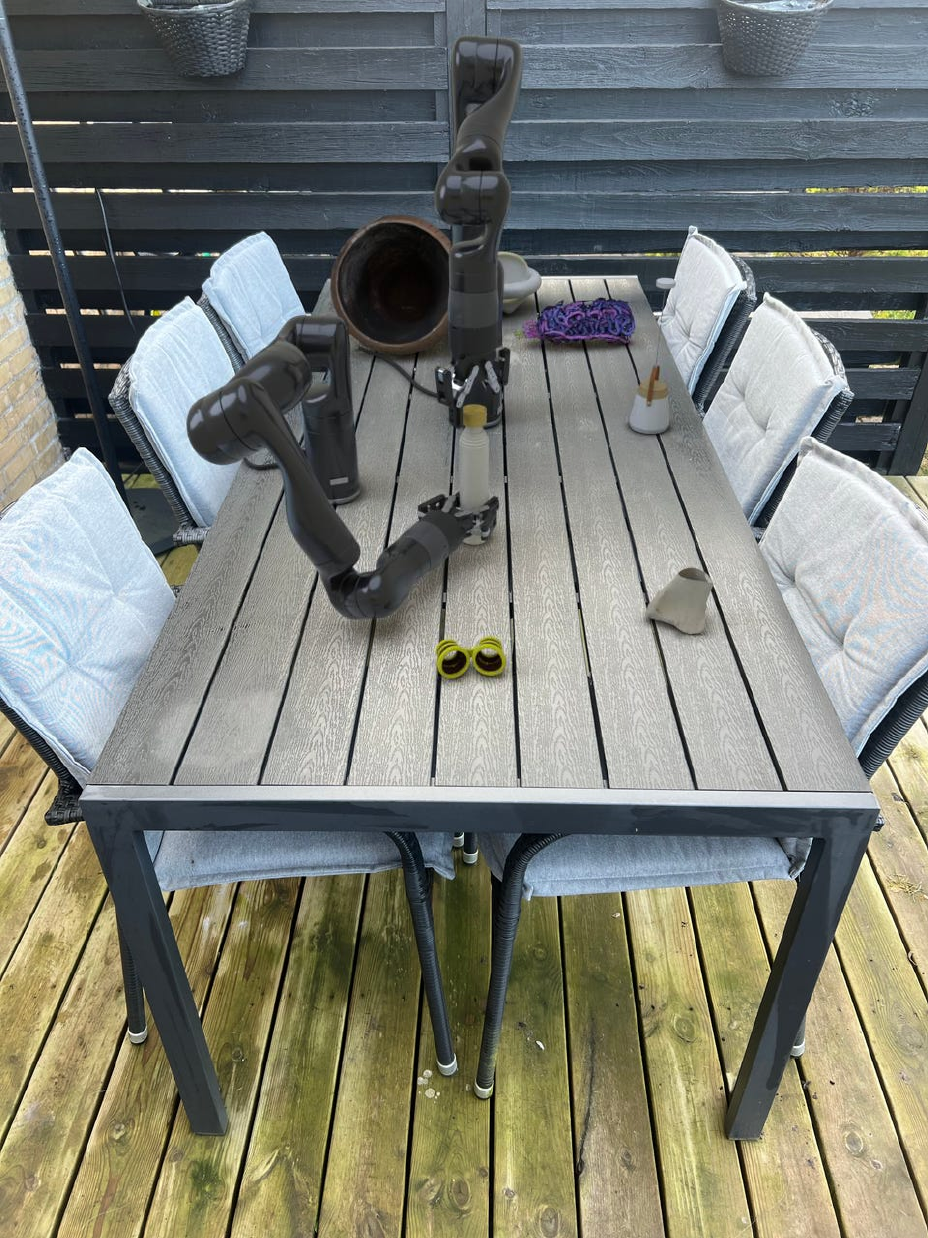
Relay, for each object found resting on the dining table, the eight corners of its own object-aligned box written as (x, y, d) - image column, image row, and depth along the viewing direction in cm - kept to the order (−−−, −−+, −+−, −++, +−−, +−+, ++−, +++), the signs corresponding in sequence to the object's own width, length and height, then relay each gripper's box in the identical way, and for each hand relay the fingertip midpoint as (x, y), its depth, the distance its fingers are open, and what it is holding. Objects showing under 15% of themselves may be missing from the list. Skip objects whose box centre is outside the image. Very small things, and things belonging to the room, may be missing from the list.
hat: (455, 295, 261) (454, 240, 252) (532, 292, 263) (534, 237, 254) (465, 327, 242) (464, 268, 233) (548, 323, 244) (550, 264, 235)
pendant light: (664, 436, 191) (684, 289, 173) (625, 431, 193) (640, 285, 175) (671, 420, 197) (691, 276, 179) (633, 414, 199) (649, 272, 181)
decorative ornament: (642, 323, 223) (518, 325, 220) (633, 359, 231) (514, 362, 228) (631, 290, 230) (511, 291, 228) (623, 326, 239) (508, 328, 236)
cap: (478, 429, 146) (478, 416, 145) (456, 423, 148) (456, 411, 147) (491, 420, 149) (491, 407, 148) (470, 414, 151) (469, 402, 149)
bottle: (487, 529, 164) (488, 405, 150) (489, 544, 160) (491, 419, 146) (459, 530, 164) (457, 406, 149) (461, 545, 160) (459, 420, 145)
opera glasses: (501, 660, 136) (501, 629, 134) (506, 678, 131) (506, 646, 129) (435, 664, 136) (434, 634, 133) (438, 682, 131) (436, 651, 129)
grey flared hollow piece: (698, 626, 144) (712, 564, 142) (708, 640, 137) (723, 575, 134) (641, 618, 144) (654, 555, 142) (648, 632, 137) (662, 566, 134)
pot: (366, 206, 239) (363, 182, 210) (477, 263, 245) (489, 246, 216) (317, 325, 245) (307, 317, 216) (426, 378, 251) (431, 377, 222)
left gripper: (466, 535, 143) (519, 488, 154) (389, 510, 149) (446, 467, 160) (466, 575, 147) (518, 526, 159) (392, 550, 153) (447, 504, 165)
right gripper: (490, 299, 144) (489, 399, 154) (420, 322, 136) (424, 426, 147) (525, 311, 140) (522, 414, 150) (454, 335, 132) (456, 442, 142)
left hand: (482, 496), depth 159 cm, fingers closed on bottle, 5 cm apart
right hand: (473, 419), depth 148 cm, fingers open, 6 cm apart
